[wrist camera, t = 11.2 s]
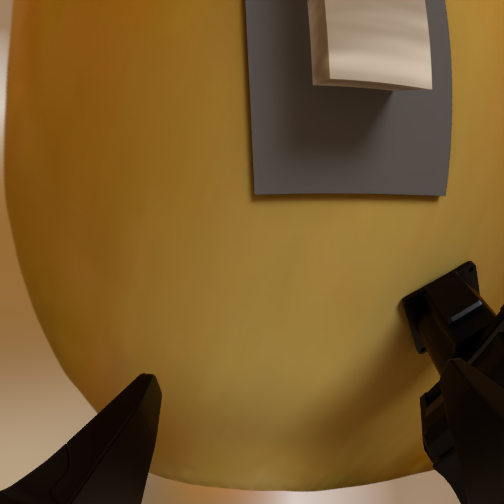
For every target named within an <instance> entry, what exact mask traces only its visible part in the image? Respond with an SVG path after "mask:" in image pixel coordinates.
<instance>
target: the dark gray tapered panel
mask: <svg viewBox="0 0 504 504" xmlns="http://www.w3.org/2000/svg"><path fill="white" fill-rule="evenodd" d="M425 5H426V12H427V20H428V30H429V40H430V53H431V71H432V90H399V91H391V90H382V89H371V88H359V87H344V86H320V85H313V79H312V59H311V42H310V28H309V15H308V3H307V0H245V6H246V25H247V45H248V65H249V85H250V106H251V128H252V149H253V171H254V194H255V195H258V194H307V193H358V194H405V195H431V196H446V189H447V180H448V171H449V160H450V147H451V128H452V68H451V51H450V38H449V28H448V20H447V12H446V5H445V0H425Z"/></svg>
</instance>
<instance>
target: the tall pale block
mask: <svg viewBox="0 0 504 504" xmlns="http://www.w3.org/2000/svg"><path fill="white" fill-rule="evenodd" d="M307 3H308V15H309V28H310V42H311V59H312V79H313V85H320V86H344V87H359V88H371V89H382V90H391V91H399V90H432V71H431V53H430V40H429V30H428V20H427V12H426V5H425V0H307Z"/></svg>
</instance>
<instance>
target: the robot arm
mask: <svg viewBox="0 0 504 504" xmlns="http://www.w3.org/2000/svg"><path fill="white" fill-rule="evenodd" d="M469 268H470V269H469ZM468 269H469V270H468ZM409 301H411V302H410V303H409V304H407V303H408V302H409ZM402 305H403V308H404V311H405V314H406V317H407V320H408V323H409V326H410V330H411V333H412V336H413V339H414V343H415V346H416V349H417V351H418V353H419V354H423V353H425V352H427V351H428V353H429V355H430V357H431V359H432V361H433V363H434V365H435V366H436V368H437V370H438V372H439V375H440V380H439V381H438V382H437V383H436V384H435V385H434V386H433V387H432V388H431V389H430V390H429V391H428V392H427V393H424V394H423V395H422V396H421V397H420V407H421V420H422V436H423V445H424V450H425V452H426V453H427V455H428V457H429V458H430V460H431V461H432V462H433V463H434V464H433V468H434V469H435V470H436V471H437V472H438V473H440V474H441V475H442V476H443V477H444V478H445V479H446V480H447V482H448V483H449V484H450V485H451V487H452V488H453V490H454V492H455V493H456V495H457V497H458V499H459V501H460V503H461V504H504V305H503V306H502V307H501V309H500V310H501V311H500V312H499V313H498V315H496V314H495V313H494V311H493V310H492V309H491V308H490V307H489V305H488V304H487V303H486V302H485V301H484V300H483V298H482V297H481V296H480V293H479V285H478V277H477V270H476V265H475V264H474V263H473V262H472V261H468V262H466V263H464V264H463V265H461V266H459V267H458V268H456V269H454V270H453V271H451V272H449V273H447V274H446V275H444V276H442V277H440V278H439V279H437V280H435V281H433V282H432V283H430V284H428V285H426V286H424V287H422V288H421V289H419V290H417V291H415V292H413V293H411V294H409V295H408V296H406V297H404V299H403V300H402ZM161 400H162V393H161V389H160V387H159V384H158V381H157V378H156V376H155V375H153V374H145V373H143V374H140V375H139V376H138V377H137V378H136V379H135V380H134V381H133V382H132V383H130V384H129V385H128V386H127V387H126V388H125V389H124V390H123V391H122V392H121V393H120V394H119V395H118V396H117V397H116V398H114V399H113V400H112V401H111V402H110V403H109V404H108V405H107V406H106V407H105V408H104V409H103V410H102V411H100V412H99V413H98V414H97V415H96V416H95V417H94V418H93V419H92V420H91V421H90V422H89V423H88V424H86V426H84V427H83V428H82V429H81V430H80V431H79V432H78V433H77V434H76V435H75V436H73V437H72V438H71V439H70V440H69V441H68V442H67V444H65V445H64V446H62V447H61V448H60V449H59V450H58V451H57V452H56V453H55V454H53V455H52V456H51V457H50V458H49V459H48V460H47V461H45V462H44V463H43V464H41V465H40V466H39V467H37V468H36V469H35V470H33V471H32V472H30V473H29V474H27V475H26V476H25V477H24V478H22V479H20V480H19V481H18V482H16V483H15V484H13V485H12V486H10V487H8V488H6V489H4V490H1V491H0V504H141V502H142V497H143V493H144V489H145V485H146V480H147V476H148V472H149V468H150V464H151V460H152V456H153V452H154V448H155V443H156V438H157V431H158V423H159V415H160V407H161Z"/></svg>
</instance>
